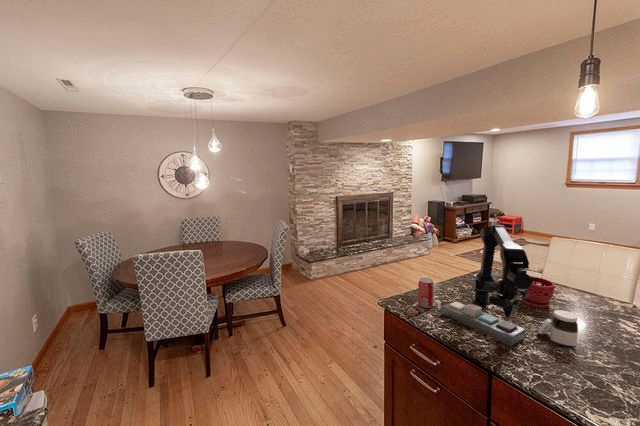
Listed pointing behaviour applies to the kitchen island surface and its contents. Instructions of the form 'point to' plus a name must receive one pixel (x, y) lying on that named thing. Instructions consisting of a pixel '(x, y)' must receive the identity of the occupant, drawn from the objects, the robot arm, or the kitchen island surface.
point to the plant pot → (539, 293)
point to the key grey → (473, 310)
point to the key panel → (484, 326)
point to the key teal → (488, 319)
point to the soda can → (425, 292)
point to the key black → (507, 326)
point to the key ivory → (457, 306)
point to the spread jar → (562, 329)
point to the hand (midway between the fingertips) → (507, 317)
